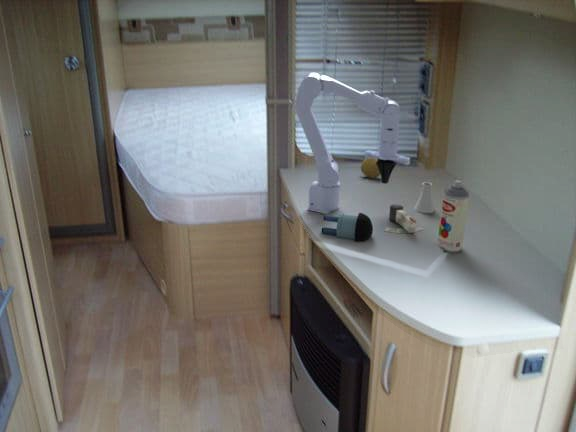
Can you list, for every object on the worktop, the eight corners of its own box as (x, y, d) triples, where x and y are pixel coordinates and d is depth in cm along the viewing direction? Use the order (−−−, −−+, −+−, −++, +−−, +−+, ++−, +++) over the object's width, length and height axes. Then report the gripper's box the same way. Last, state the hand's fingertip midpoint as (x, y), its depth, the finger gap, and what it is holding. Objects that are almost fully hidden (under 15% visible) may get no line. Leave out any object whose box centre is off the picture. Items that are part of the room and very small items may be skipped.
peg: (386, 218, 186) (388, 204, 184) (398, 217, 187) (399, 203, 185) (407, 235, 173) (408, 221, 171) (419, 234, 174) (421, 220, 173)
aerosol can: (432, 245, 170) (439, 179, 163) (451, 241, 173) (460, 176, 165) (447, 255, 164) (455, 186, 157) (466, 251, 167) (476, 183, 159)
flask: (435, 217, 190) (439, 188, 186) (412, 215, 191) (415, 186, 187) (435, 209, 196) (438, 181, 193) (412, 207, 198) (415, 179, 194)
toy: (321, 240, 177) (371, 247, 173) (316, 233, 169) (368, 240, 165) (326, 213, 179) (376, 219, 175) (321, 205, 171) (372, 211, 167)
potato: (359, 174, 230) (360, 154, 227) (378, 174, 230) (380, 154, 227) (363, 180, 223) (364, 160, 220) (383, 180, 224) (384, 159, 221)
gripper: (361, 139, 185) (358, 181, 190) (405, 147, 177) (401, 190, 182) (371, 135, 190) (368, 175, 195) (414, 142, 183) (410, 184, 188)
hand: (385, 182), depth 189 cm, fingers closed
